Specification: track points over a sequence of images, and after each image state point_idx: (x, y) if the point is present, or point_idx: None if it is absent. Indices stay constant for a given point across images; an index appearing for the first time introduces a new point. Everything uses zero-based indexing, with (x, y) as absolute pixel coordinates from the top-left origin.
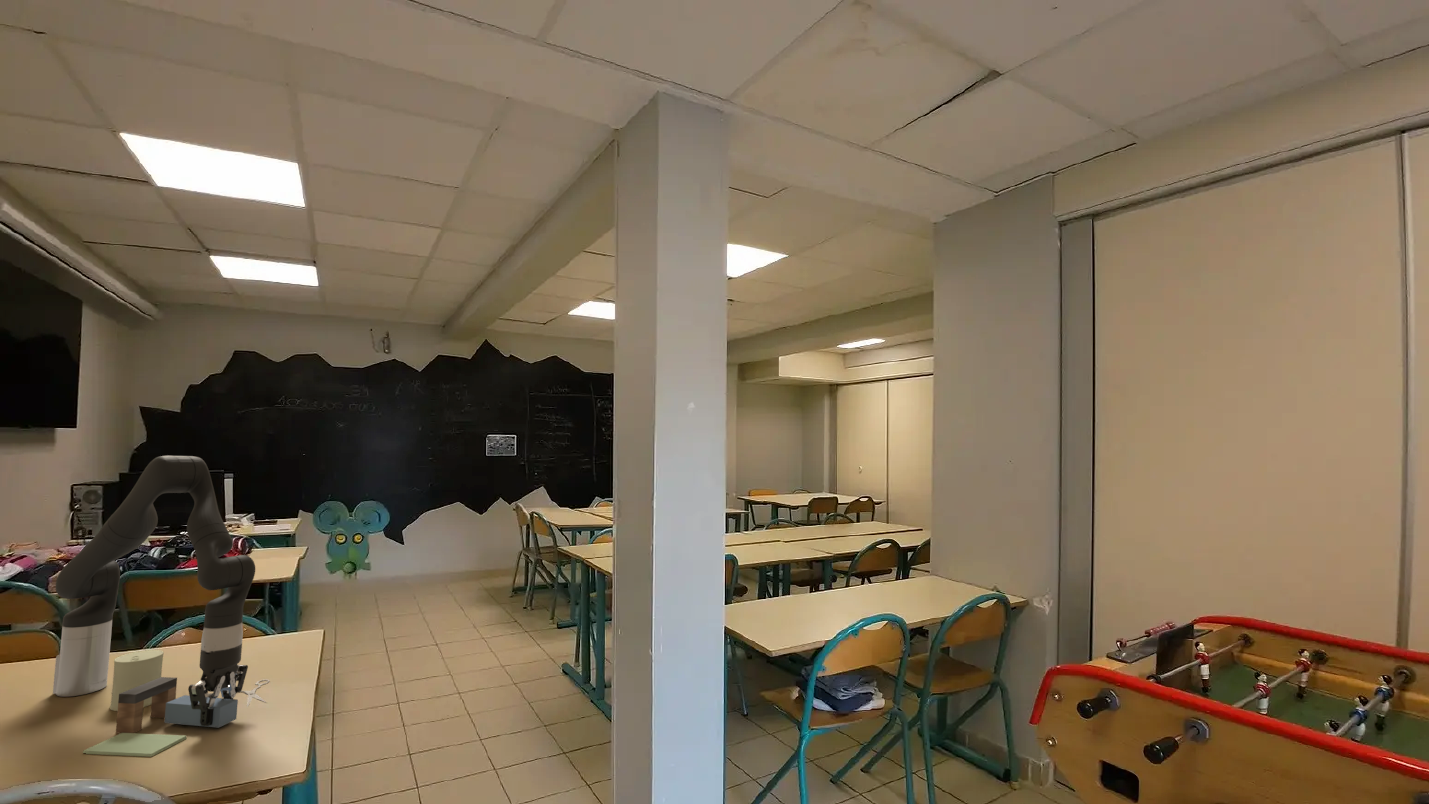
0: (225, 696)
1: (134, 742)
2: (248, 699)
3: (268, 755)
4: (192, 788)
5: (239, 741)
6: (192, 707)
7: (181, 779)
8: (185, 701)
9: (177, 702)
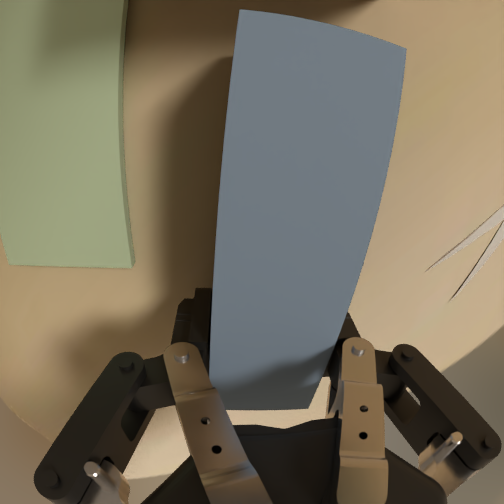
0: (337, 365)
1: (41, 105)
2: (492, 219)
3: (135, 456)
4: (18, 412)
5: (165, 407)
6: (109, 367)
7: (15, 389)
8: (283, 148)
9: (258, 95)
